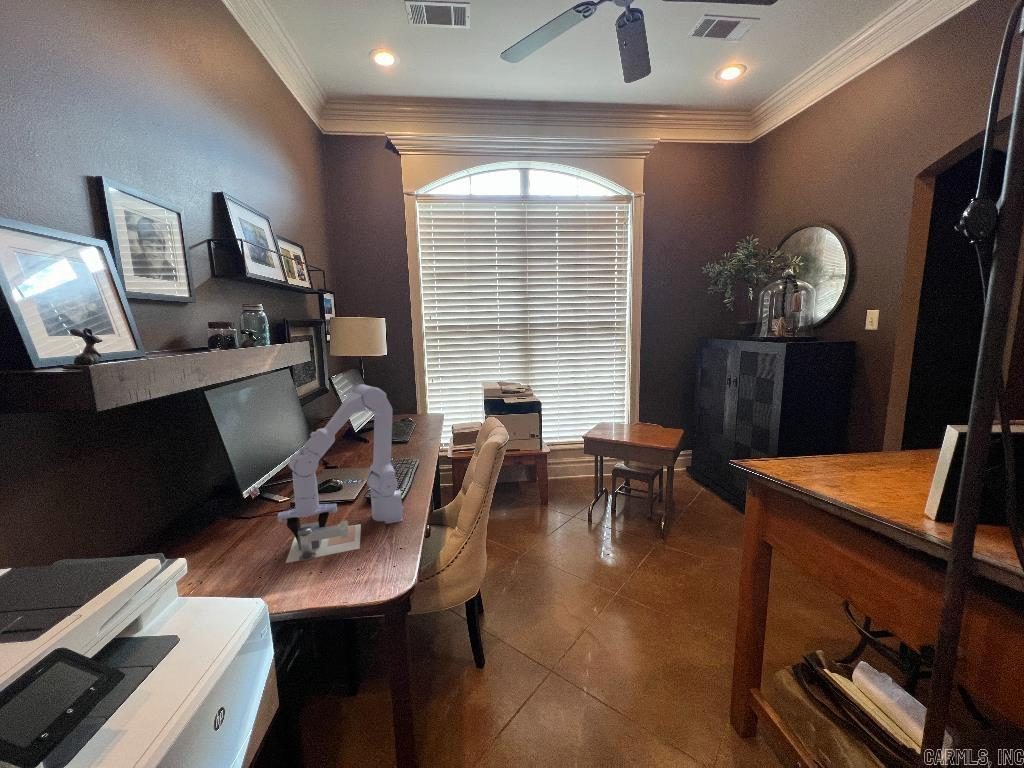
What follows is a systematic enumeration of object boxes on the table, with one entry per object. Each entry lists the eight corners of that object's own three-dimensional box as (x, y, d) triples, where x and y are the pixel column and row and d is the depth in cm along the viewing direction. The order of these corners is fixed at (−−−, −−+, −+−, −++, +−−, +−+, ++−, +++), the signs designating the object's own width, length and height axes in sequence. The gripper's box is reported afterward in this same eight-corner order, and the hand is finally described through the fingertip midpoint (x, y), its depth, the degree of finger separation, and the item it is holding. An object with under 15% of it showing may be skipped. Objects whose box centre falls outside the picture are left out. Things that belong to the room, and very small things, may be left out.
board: (361, 526, 119) (360, 523, 118) (359, 553, 105) (359, 550, 104) (295, 538, 112) (295, 535, 112) (285, 568, 99) (284, 564, 98)
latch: (349, 552, 103) (346, 526, 102) (299, 562, 99) (296, 535, 98) (349, 542, 108) (347, 517, 107) (301, 551, 104) (299, 526, 102)
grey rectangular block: (322, 533, 112) (321, 521, 112) (319, 546, 106) (318, 533, 105) (303, 537, 111) (302, 524, 110) (299, 550, 104) (297, 537, 104)
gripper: (336, 484, 112) (340, 527, 114) (279, 492, 107) (284, 537, 110) (333, 494, 106) (338, 539, 108) (273, 503, 101) (279, 551, 103)
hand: (311, 539), depth 108 cm, fingers closed on grey rectangular block, 5 cm apart
